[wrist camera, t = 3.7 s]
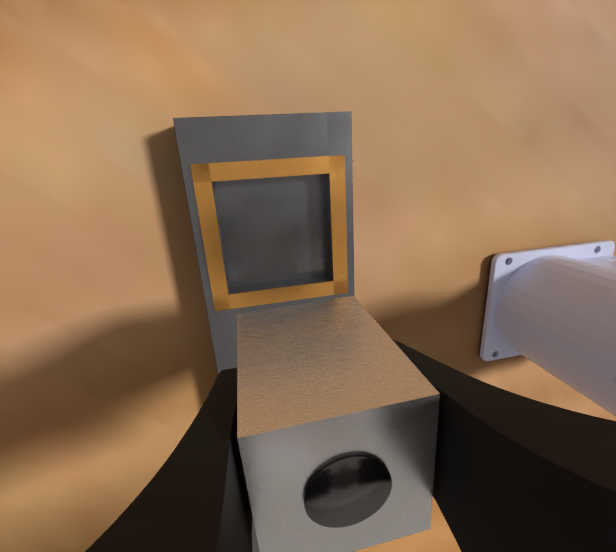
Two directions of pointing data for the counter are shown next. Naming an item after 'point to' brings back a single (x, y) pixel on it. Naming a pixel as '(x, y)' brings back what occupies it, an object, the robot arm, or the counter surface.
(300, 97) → the counter surface
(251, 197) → the rail
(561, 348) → the robot arm
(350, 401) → the drawer with knob
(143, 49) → the counter surface
